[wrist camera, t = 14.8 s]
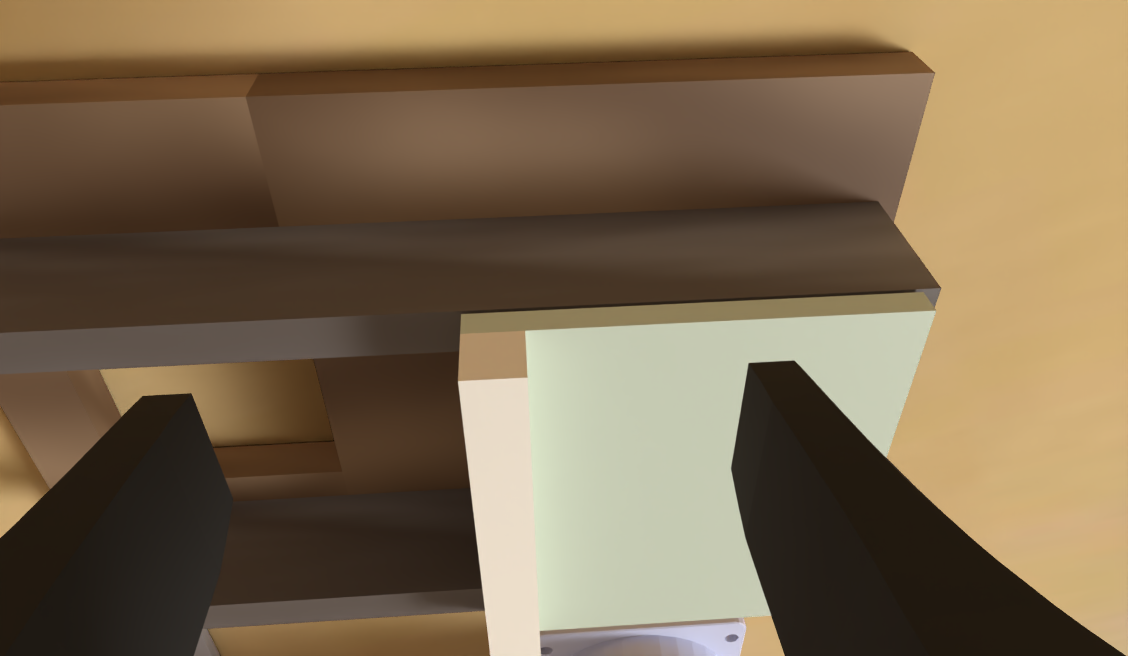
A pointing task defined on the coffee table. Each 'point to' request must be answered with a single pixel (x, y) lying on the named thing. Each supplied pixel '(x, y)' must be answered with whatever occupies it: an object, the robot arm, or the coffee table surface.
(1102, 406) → the coffee table surface
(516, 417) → the cover
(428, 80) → the board
